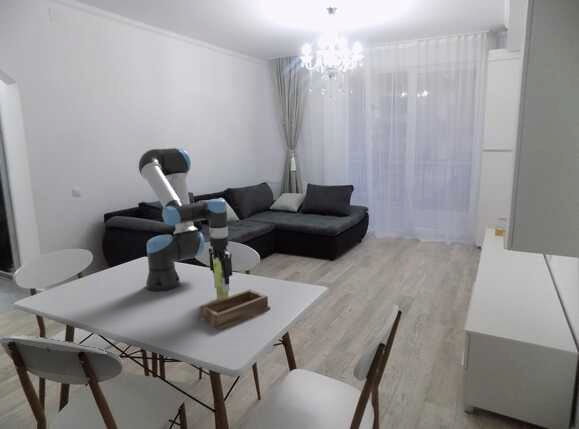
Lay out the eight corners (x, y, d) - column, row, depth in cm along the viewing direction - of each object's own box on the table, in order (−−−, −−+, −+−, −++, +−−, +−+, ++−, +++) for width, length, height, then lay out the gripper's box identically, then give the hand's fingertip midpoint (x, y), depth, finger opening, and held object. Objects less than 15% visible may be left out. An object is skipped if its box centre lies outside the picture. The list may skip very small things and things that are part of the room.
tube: (216, 301, 165) (213, 257, 161) (214, 297, 170) (212, 254, 166) (229, 300, 167) (227, 255, 163) (228, 295, 171) (225, 252, 168)
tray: (199, 318, 150) (198, 305, 149) (248, 299, 167) (247, 288, 166) (220, 330, 141) (219, 317, 140) (270, 309, 157) (269, 297, 156)
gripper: (199, 234, 167) (202, 286, 172) (224, 242, 154) (227, 297, 158) (214, 231, 172) (217, 281, 177) (239, 238, 159) (242, 292, 164)
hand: (222, 289), depth 168 cm, fingers closed on tube, 6 cm apart
